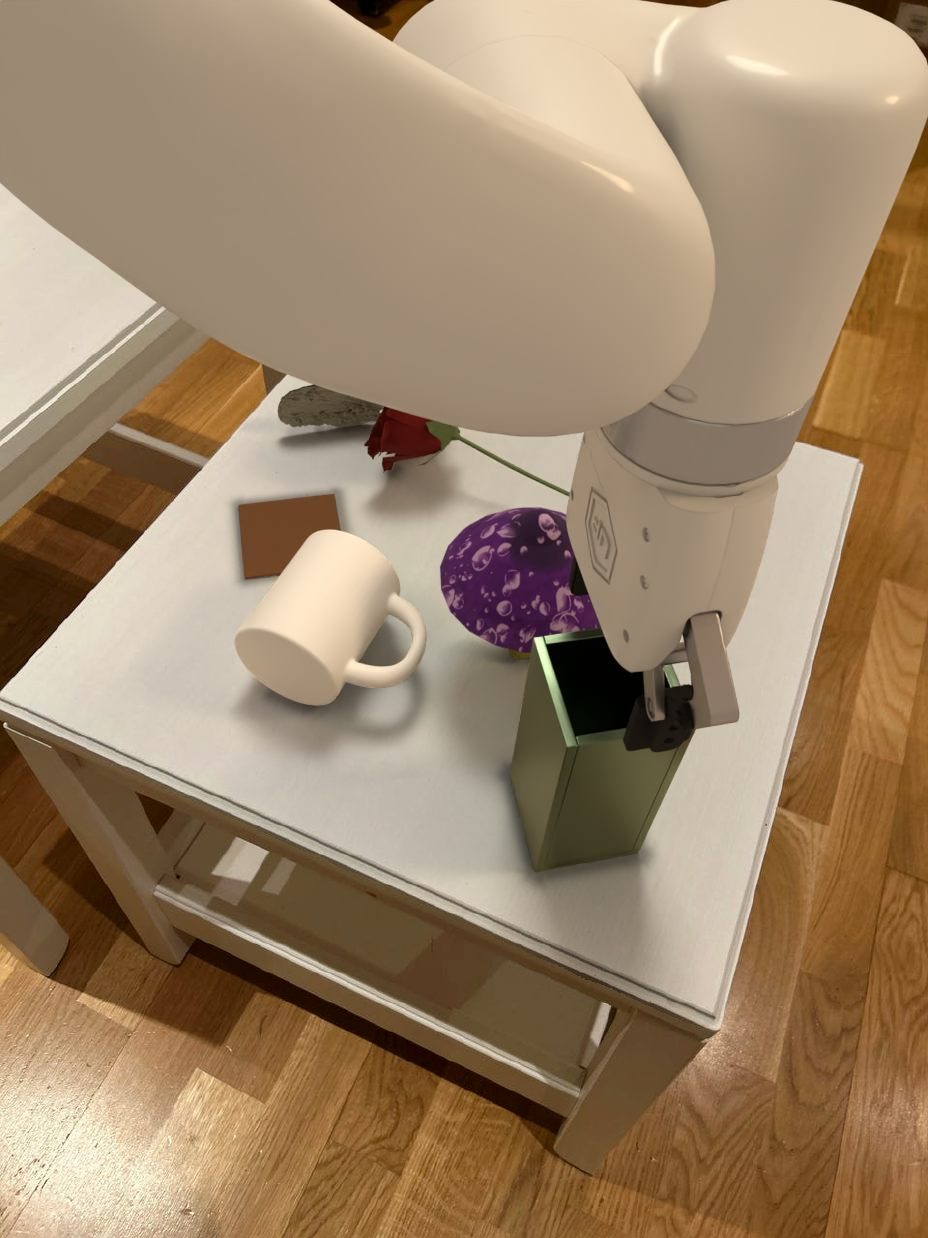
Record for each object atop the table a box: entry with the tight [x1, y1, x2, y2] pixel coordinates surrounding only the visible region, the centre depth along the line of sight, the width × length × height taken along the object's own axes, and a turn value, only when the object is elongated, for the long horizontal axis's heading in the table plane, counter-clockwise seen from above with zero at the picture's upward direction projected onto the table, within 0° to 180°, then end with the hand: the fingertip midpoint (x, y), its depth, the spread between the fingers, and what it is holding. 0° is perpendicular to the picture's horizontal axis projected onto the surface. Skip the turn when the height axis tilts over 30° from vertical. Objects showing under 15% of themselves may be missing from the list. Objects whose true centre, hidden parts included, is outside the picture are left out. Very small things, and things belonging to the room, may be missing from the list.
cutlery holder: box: [509, 628, 697, 873], centre depth 56 cm, size 7×7×16 cm
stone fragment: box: [277, 384, 384, 428], centre depth 82 cm, size 10×1×5 cm, turn 102°
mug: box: [234, 530, 427, 707], centre depth 66 cm, size 12×10×8 cm
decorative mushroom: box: [439, 506, 601, 660], centre depth 64 cm, size 12×12×15 cm
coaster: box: [237, 493, 342, 580], centre depth 76 cm, size 8×8×1 cm
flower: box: [363, 406, 570, 498], centre depth 77 cm, size 11×10×30 cm
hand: (624, 660), depth 48 cm, fingers open, 9 cm apart
